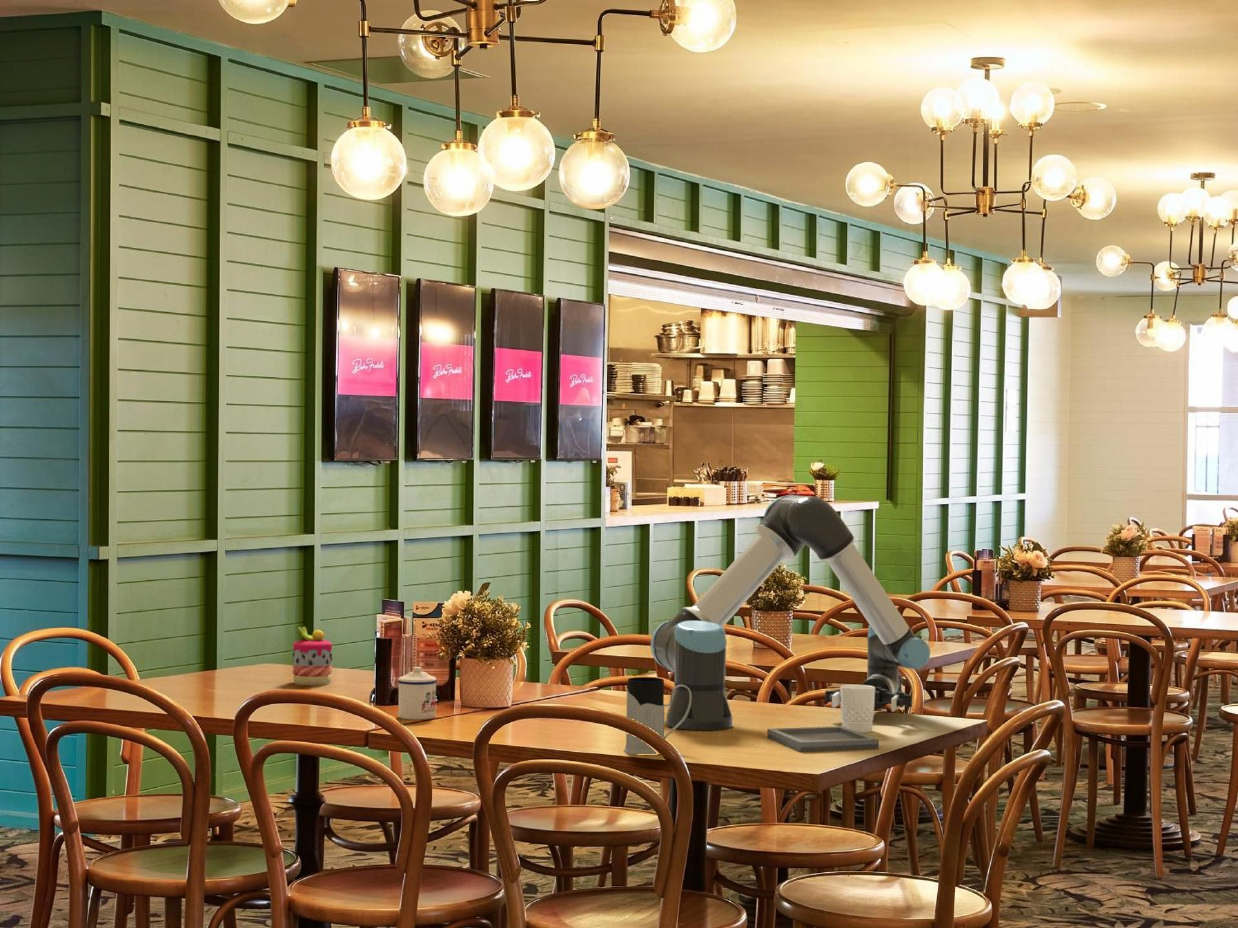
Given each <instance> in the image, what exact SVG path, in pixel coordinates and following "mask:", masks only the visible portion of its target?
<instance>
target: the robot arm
mask: <svg viewBox="0 0 1238 928" xmlns="http://www.w3.org/2000/svg"><path fill="white" fill-rule="evenodd" d="M756 529H757V531H756V532H757V535H756V537H754V539H752V541H751V542H750V543H749V544H748V545H747V547H746V548H744V549H743V551H742V552H740V554H739V555H738V556H737V557H736V558H735V560H733V562H732V563H731V564H730V565H729V566H728V567H727V568H726V569H725V571H724V572H723V573H722V574H721V575H720V576H719V577H718V578H717V579H716V580H715V582H713V584H712V585H711V586H710V587H709V588H708V589H707V590H706V591H705V593H703V595H702V596H701V597H700V598H699V599H698V600H697V601H696V602H695V604H694V605H692V606H685V607H683V608H681V609H680V610H679V611H678V613H677V614H675V616H674V617H673V618H672V619H671V620H670V619H669V620H667V621H665V622H662V623H661V624H660V625H658V626H657V627H656V629H654V631H653V633H652V636H651V639H650V650H651V655H652V657H653V658H654V660H655V661H656V663H658V664H659V666H661V667H662V668H663V669H665V670H666V671H668V672H672V673H674V687H676V686H677V685H685V686H687V687H688V688H689V689H690V691H691V696H692V699H691V706H690V710H689V712H688V715H687V717H686V718H685V720H684V721H683V722H682V723H681V724H680V725H679V726H678V727H677V728H676V729H679V730H686V731H687V730H689V731H717V730H727V729H729V728H732V727H733V714H732V711H731V708H730V705H729V701H728V697H727V694H726V660H727V659H726V657H727V638H726V637H727V636H726V630H725V628H724V626H725V625H727V623H728V622H729V621H730V620H731V619H732V617H733V616H734V615H735V614H736V613H737V612H738V611H739V609H740V608H741V607H742V606H744V604H745V603H746V602H747V601H748V600H749V598H750V597H751V596H752V595H754V593H755V592H756V591H757V589H758V588H759V587H760V586H761V585H762V584H763V583H764V582H765V580H767V578H769V576H770V575H771V574H772V573H773V572H774V571H775V569H777V568H778V567H779V566H780V564H781V563H782V562H784V560H792V559H794V558H795V557H796V556H797V555H798V554H799V552H800V551H801V550H802V549H803V548H804V547H805V546H808V547H809V549H811V550H812V551H813V552H814V553H815V554H816V556H817V557H818V559H819V560H821V561H823V562H826V563H827V565H828V566H829V567H830V568H831V570H832V571H833V573H834V574H835V576H836V577H837V579H838V580H839V581H840V583H841V584H842V586H843V588H844V589H845V590H846V592H847V593H848V595H849V596H850V598H851V599H852V601H853V602H854V603H855V606H856V607H857V608H858V610H859V611H860V612H861V614H862V615H863V617H864V618H865V619H866V621H867V623H868V624H869V625H868V629H867V630H868V631H867V632H868V633H867V639H866V640H867V670H866V671H867V673H866V674H867V675H866V677H867V678H866V679H865V680H864V681H863V682H861V684H860V685H869V686H874V687H875V702H874V710H877V709H878V710H879V709H882V708H883V707H885V706H886V705H890V711H891V712H895V711H896V710H897V709H898V708H899V707H900V708H903V707H904V706H905V707H907V708H912V707H913V696H912V695H910V694H908V693H906V692H903V691H902V690H901V689H900V688H901V682H900V678H899V667H901V668H904V669H908V670H918V669H919V670H920V669H922V668H924V667H925V666H926V664H928V662H929V660H930V657H931V649H930V646H929V644H928V642H926V641H925V640H924V639H922V638H920V637H918V636H916V635H915V633H914V632H913V630H912V629H911V628H910V626H909V625H908V623H907V622H906V620H905V619H904V617H903V616H902V614H901V613H900V612H899V610H898V608H897V606H896V605H895V604H894V603H893V601H892V599H891V598H890V596H889V595H888V594H887V592H886V590H885V589H884V587H883V586H882V585H881V583H880V581H879V580H878V578H877V576H875V574H874V572H873V571H872V570H871V569H870V567H869V565H868V563H867V562H866V561H865V559H864V558H863V556H862V555H861V553H860V551H859V550H858V548H857V547H856V546H855V544H854V541H855V536H854V535H853V534H852V532H851V530H850V529H849V527H848V526H847V525H846V523H845V522H844V520H843V519H842V518H841V516H840V515H839V513H838V512H837V511H836V510H835V509H834V508H833V506H832V505H831V504H830V503H828V502H827V501H826V500H824V499H823V498H820V497H818V496H812V495H807V496H806V495H798V494H787V495H783V496H780V497H778V498H776V499H774V500H773V501H772V502H771V503H770V504H768V507H767V508H766V510H765V512H764V515H763V520H762V521H760V523H759V524H758V525H757V526H756ZM689 698H690V696H689V691H688V689H687V688H686V687H682V686H680V687H678V688H676V690H675V691H674V693H673V699H672V704H671V705H669V706H668V709H667V712H666V719H665V720H666V726H667V727H670V728H672V729H673V728H674V727H675V726H676V725H677V724H678V723H679V722H680V721H681V720H682V719H683V717H684V715H685V713H686V711H687V709H688V705H689ZM824 702H825V703H831V708H836V707H837V706H839V705H841V696H840V688H837V689H830V690H825V691H824Z"/></svg>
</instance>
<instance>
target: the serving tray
mask: <svg viewBox="0 0 1238 928" xmlns="http://www.w3.org/2000/svg"><path fill="white" fill-rule="evenodd" d="M766 732H767V734H766V735H767V739H769V740H771V741H774V742H776V743H778V744H781V745H783V746H785V747H788V748H790V749H792V750H795V751H797V752H800V753H805V752H807V753H808V752H809V753H810V752H833V751H857V750H876V749H877V750H878V749H879V746H880V744H879V742H880V741H879V738H876V737H873V736H871V735H868V734H866V733H860V732H857V731H854V730H852V729H849V728H846V727H844V726H842V725H836V726H832V725H831V726H813V727H812V726H811V727H808V726H807V727H783V728H782V727H781V728H780V727H779V728H778V727H777V728H767V729H766Z"/></svg>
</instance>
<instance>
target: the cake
mask: <svg viewBox="0 0 1238 928" xmlns="http://www.w3.org/2000/svg"><path fill="white" fill-rule="evenodd" d="M297 630H298V632H299V633H300V634H301V637H303V638H304V639H302V640H297V641H295V642H294V643H293V646H292V647H293V648H292V651H293V652H292V657H293V665H292V668H293V669H292V674H293V684H295V685H298V686H322V685H325V686H326V685H329V684H331V682H332V680H331V676H332V671H333V670H332V669H333V668H332V667H333V666H332V660H333V655H332V651H333V643H332V642H331V641H328V640H325V639H324V637H325V634H324V632H323V630H320V629H316V630H314V631H313V632H312V635H311V634H308V631H307V630H308V629H307V628H306V626H302V627H301V626H299V627H297Z"/></svg>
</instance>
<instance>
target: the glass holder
mask: <svg viewBox="0 0 1238 928" xmlns="http://www.w3.org/2000/svg"><path fill="white" fill-rule="evenodd" d="M680 686H682V687H686V688H687V689H688V691H689V696H690V698H689V705H688V709H687V711H686V713H685V715H684V717H683V719H682V720H681V721H680V722H679V723H678V724H677V725H676V726H675V727H674V728H673V727H672V728H671V729H670V730H669V731H668V732H667V733H665V707H669V706H670V705H671V704H672V699H673V694H674V691H675V690H676V688H678V687H680ZM664 687H665V680H664V678H660V677H649V676H648V677H647V676H645V677H644V676H639V677H637V676H635V677H630V678H627V690H626V719H627V718H630V719H634V721H638V722H639V723H642V724H643V725H645V726H647V727H649V728H651V729H652V730H654V731H655V732H657V733H658V734H659V735H660V736H661V737H663V738H664V739H665V740H666V739H667V737H668V736H669V735H671V734H672V733H673V732H675V730H676V729H678V728H677V727H678V726H679V725H680V724H681V723H682V722H683V721H684V720H685V718H686V717H687V715H688V712H689V710H690V706H691V699H692V696H691V691H690V689H689V688H688V687H687V686H685V685H677V686H676V687H675V686H673V688H672V690H671V692H670V697H669V698H670V700H669V703H667V704H666V703H665V704H664V700H665V698H664V697H665V693H664V692H665V691H664V690H665V688H664ZM625 733H626V732H625ZM625 735H626V737H625V738H626V739H625V740H626V741H625V744H626V745H625V747H624V750H623V753H624V752H625V753H624V754H627V755H631V754H656V752H655V751H654V750H653V749H652V748H651V747H649V745H647V744H646V743H645V742H643V741H641V739H639V738H638V737H634V736H632V735H630V734H627V733H626V734H625Z"/></svg>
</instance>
